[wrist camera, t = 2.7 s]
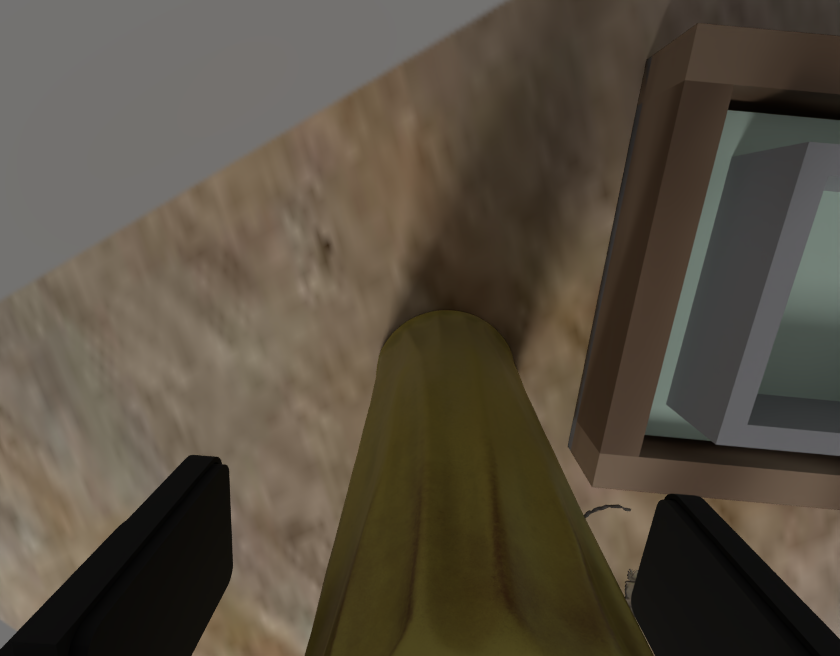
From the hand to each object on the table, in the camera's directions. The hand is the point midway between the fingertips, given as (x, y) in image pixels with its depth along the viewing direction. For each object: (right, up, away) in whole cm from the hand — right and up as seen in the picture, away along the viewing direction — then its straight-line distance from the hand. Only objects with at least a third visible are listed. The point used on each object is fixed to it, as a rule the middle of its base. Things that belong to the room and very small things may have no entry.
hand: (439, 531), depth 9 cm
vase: (+1, +2, +10) cm, 10 cm away
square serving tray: (+14, +6, +8) cm, 18 cm away
